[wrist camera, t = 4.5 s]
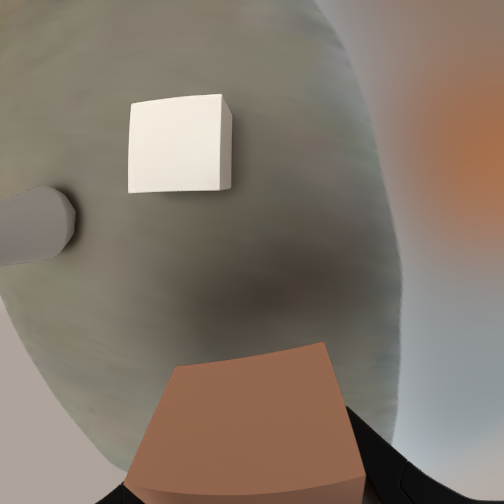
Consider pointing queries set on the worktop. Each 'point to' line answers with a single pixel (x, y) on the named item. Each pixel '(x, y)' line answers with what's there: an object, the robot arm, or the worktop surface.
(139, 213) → the worktop surface
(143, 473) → the terracotta cube
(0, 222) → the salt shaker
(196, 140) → the off-white cube
